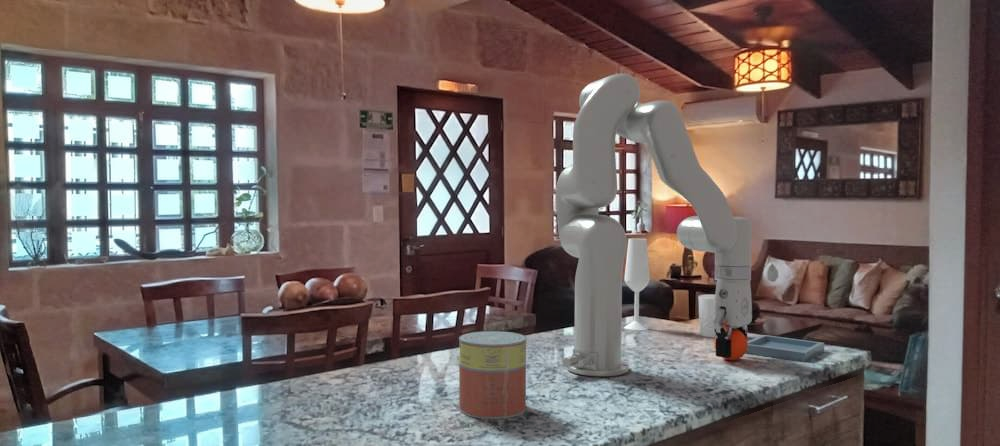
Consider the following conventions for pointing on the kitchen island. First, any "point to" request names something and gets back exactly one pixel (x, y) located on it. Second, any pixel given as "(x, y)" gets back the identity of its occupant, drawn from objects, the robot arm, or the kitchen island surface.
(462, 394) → the canned food
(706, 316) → the white cup
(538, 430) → the kitchen island surface
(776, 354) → the dish
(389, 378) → the kitchen island surface
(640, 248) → the champagne flute
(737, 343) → the clementine
